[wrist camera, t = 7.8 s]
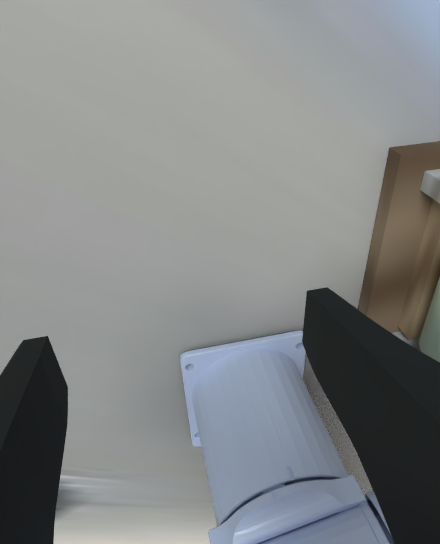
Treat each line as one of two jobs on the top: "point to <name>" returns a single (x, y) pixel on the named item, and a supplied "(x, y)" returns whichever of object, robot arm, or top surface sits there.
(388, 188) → the holder
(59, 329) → the top surface
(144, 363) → the top surface
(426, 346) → the roll
